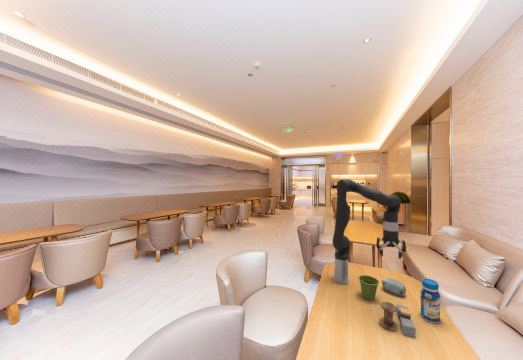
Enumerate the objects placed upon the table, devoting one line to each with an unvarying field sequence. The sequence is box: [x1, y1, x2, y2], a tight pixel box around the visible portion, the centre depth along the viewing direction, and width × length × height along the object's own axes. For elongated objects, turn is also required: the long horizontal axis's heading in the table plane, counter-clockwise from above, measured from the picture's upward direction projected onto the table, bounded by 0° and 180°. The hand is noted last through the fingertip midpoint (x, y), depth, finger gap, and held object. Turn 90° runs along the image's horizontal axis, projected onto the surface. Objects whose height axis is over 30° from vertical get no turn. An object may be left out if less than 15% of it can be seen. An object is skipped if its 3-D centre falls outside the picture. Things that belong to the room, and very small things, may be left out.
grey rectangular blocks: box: [395, 304, 416, 339], centre depth 102 cm, size 5×18×4 cm, turn 154°
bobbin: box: [378, 301, 399, 332], centre depth 101 cm, size 8×8×10 cm
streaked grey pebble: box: [381, 277, 407, 297], centre depth 130 cm, size 14×10×10 cm
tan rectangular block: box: [400, 307, 412, 320], centre depth 102 cm, size 4×4×7 cm
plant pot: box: [358, 274, 380, 301], centre depth 125 cm, size 12×12×11 cm
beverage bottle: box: [419, 278, 442, 324], centre depth 106 cm, size 8×8×20 cm
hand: (390, 256), depth 114 cm, fingers open, 8 cm apart
